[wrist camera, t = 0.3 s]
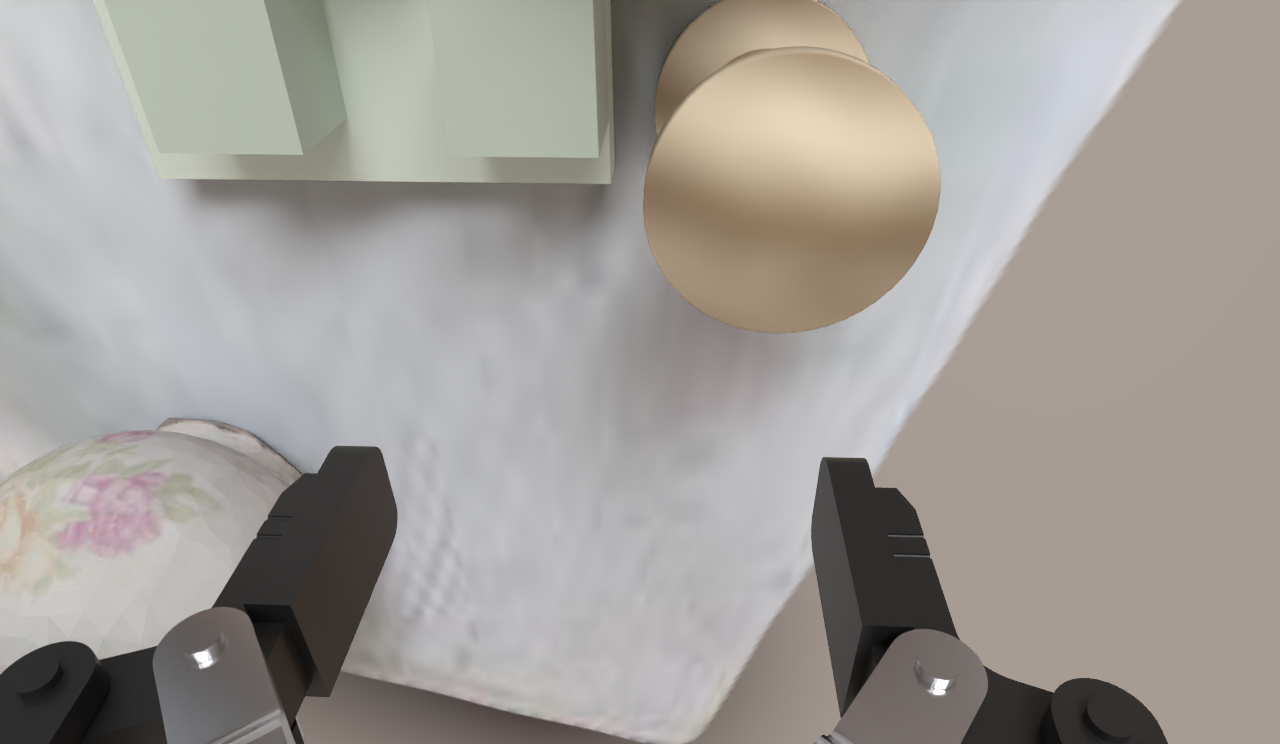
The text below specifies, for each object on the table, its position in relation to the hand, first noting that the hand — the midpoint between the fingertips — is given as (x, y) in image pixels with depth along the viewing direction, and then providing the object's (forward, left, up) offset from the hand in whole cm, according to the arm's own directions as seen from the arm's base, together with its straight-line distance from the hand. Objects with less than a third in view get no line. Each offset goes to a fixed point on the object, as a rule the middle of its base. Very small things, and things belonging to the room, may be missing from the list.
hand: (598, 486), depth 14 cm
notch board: (-2, -13, -27) cm, 30 cm away
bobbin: (+1, +5, -27) cm, 28 cm away
